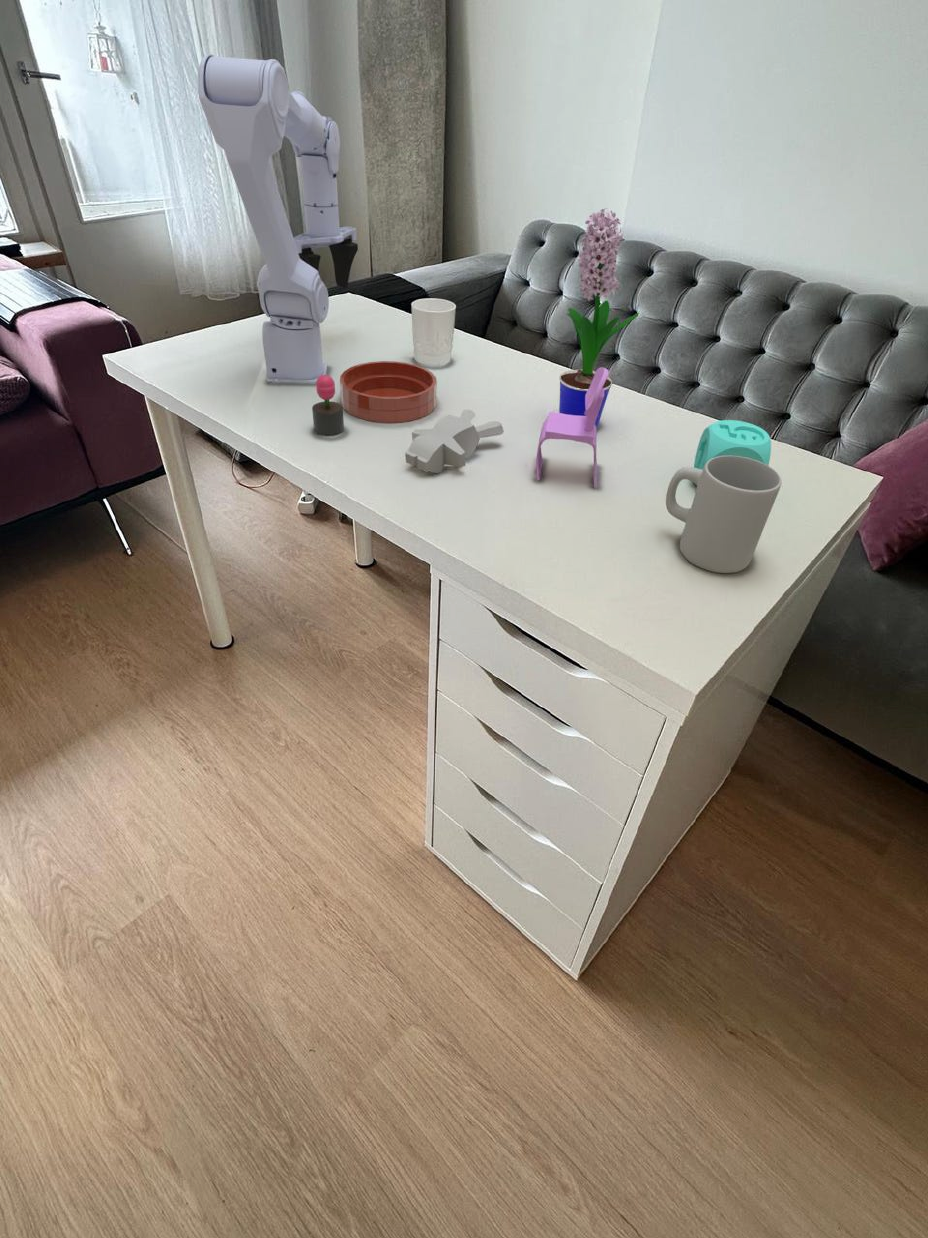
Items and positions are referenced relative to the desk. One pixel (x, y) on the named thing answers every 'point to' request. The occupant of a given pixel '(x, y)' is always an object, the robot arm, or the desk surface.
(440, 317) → the white cup
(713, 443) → the decorative dice
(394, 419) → the bowl
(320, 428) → the tulip
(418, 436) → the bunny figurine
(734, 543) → the mug
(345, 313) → the desk surface
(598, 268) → the hyacinth
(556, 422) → the toy chair
